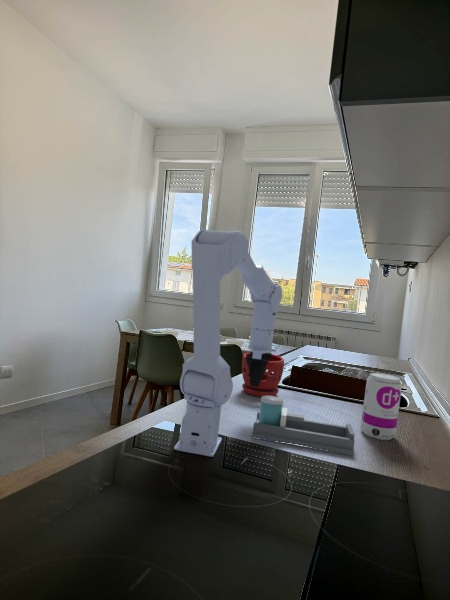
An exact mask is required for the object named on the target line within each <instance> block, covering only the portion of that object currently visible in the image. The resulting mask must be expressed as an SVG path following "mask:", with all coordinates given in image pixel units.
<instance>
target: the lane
mask: <svg viewBox="0 0 450 600" xmlns="http://www.w3.org/2000/svg"><path fill="white" fill-rule="evenodd" d="M259 416H260V411H258V412H257V413H256V420H255V422H253V428H252V435H251V438H252V437H255V438H260V439H265V440H270V441H269V442H271V441H278V442H285V443H292V444H298V445H303V446H308V447H312V448H316V449H322V450H328V451H332V452H331V453H333V452H338V453H337V454H339V453H343V454H342V455H344V454H346V455H345V456H349V457H354V454H355V450H354V448H355V431H354V430H353V427H352V424H350V423H346V424H345V426H344V425H340V424H338V425H337V424H332V423H326V422H320V421H314V420H309V419H304V423H303V422H297V421H291V420H286V425H285V427H280V426H274V425H268V424H262V423H259ZM260 439H259V440H260ZM265 440H264V441H265ZM316 449H315V450H316ZM322 450H321V451H322ZM328 451H327V452H328Z"/></svg>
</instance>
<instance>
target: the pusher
mask: <svg viewBox="0 0 450 600" xmlns="http://www.w3.org/2000/svg"><path fill="white" fill-rule="evenodd" d="M286 420H291V421H297V422H303V423H304V420H305V415H302V414H297V413H291V412H290V413H289V412H288V408H287V407H283V406H282V413H281V421H280V427H285V425H286Z"/></svg>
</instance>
